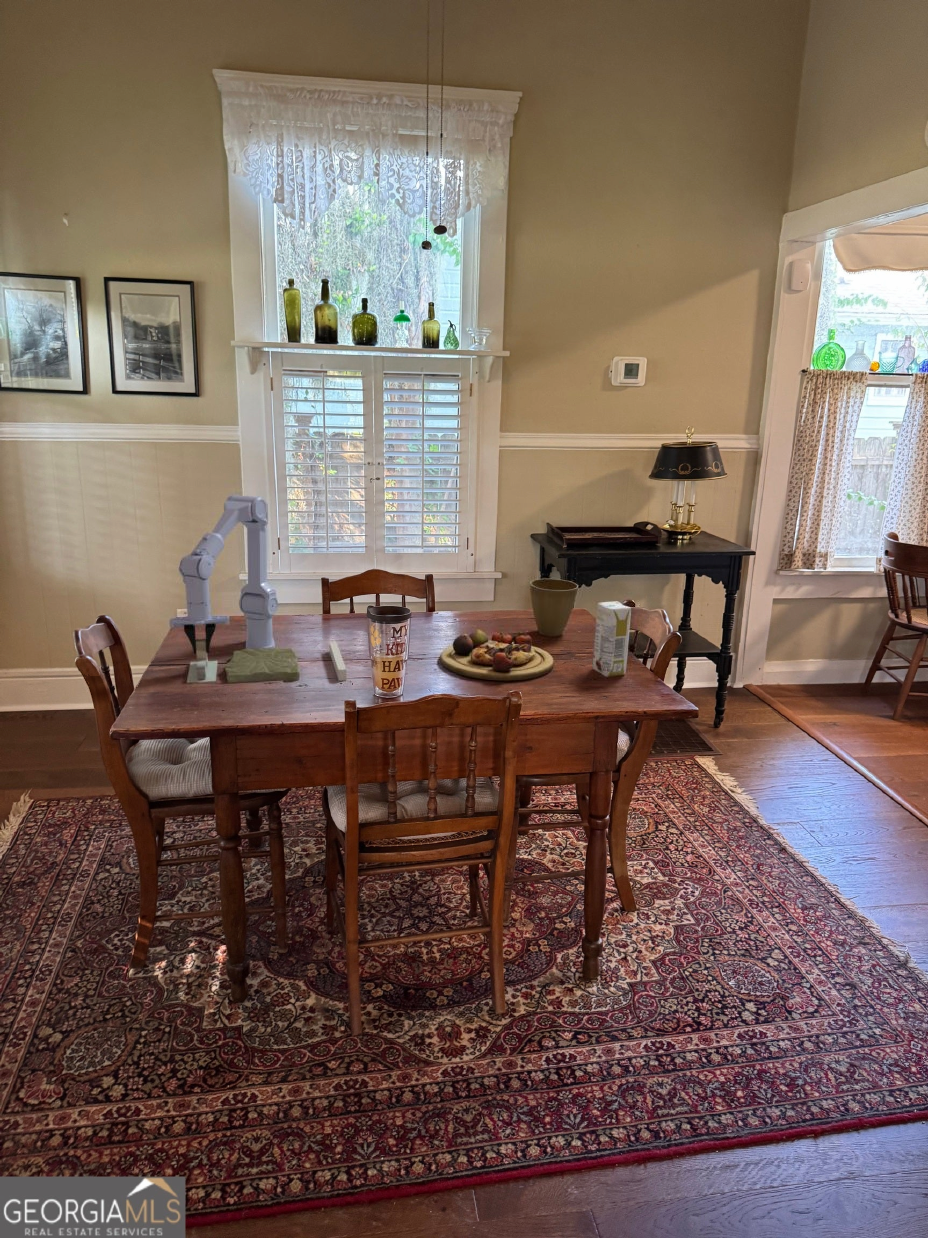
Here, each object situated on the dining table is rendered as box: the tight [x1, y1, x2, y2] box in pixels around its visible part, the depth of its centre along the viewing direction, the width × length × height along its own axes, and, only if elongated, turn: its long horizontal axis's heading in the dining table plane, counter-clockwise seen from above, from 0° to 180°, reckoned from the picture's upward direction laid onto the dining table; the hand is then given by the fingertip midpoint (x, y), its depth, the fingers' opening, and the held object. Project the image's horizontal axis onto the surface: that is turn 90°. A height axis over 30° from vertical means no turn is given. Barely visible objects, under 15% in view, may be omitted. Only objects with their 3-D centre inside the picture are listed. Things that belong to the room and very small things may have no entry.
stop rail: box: [328, 641, 347, 682], centre depth 221 cm, size 24×2×3 cm, turn 15°
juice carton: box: [592, 600, 632, 677], centre depth 220 cm, size 8×9×19 cm
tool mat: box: [186, 660, 218, 684], centre depth 212 cm, size 16×7×1 cm, turn 15°
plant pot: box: [529, 578, 579, 637], centre depth 254 cm, size 15×15×16 cm
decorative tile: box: [224, 647, 300, 684], centre depth 216 cm, size 19×20×4 cm
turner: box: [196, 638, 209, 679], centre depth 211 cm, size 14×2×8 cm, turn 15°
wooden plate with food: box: [439, 628, 555, 682], centre depth 226 cm, size 32×32×8 cm
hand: (201, 652), depth 211 cm, fingers closed on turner, 2 cm apart
